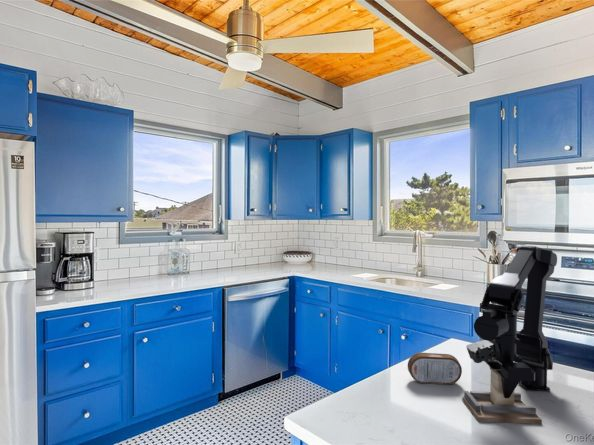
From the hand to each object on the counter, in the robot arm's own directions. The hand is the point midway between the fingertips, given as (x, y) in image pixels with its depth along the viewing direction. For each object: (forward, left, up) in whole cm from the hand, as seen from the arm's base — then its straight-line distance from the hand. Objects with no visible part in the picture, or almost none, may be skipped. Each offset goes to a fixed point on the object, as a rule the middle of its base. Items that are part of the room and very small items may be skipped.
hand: (502, 393), depth 97 cm
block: (0, 0, -2) cm, 3 cm away
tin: (+12, -15, -4) cm, 20 cm away
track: (+1, +1, -4) cm, 4 cm away
